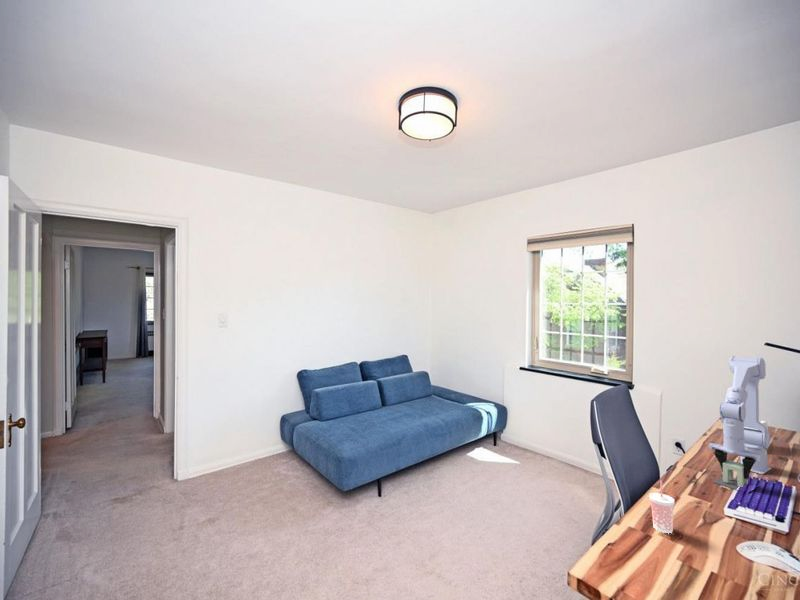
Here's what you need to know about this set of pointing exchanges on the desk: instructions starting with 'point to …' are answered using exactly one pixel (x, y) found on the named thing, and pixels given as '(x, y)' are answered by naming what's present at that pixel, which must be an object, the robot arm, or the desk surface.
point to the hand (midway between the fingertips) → (735, 474)
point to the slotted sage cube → (729, 472)
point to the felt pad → (730, 484)
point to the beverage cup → (662, 511)
